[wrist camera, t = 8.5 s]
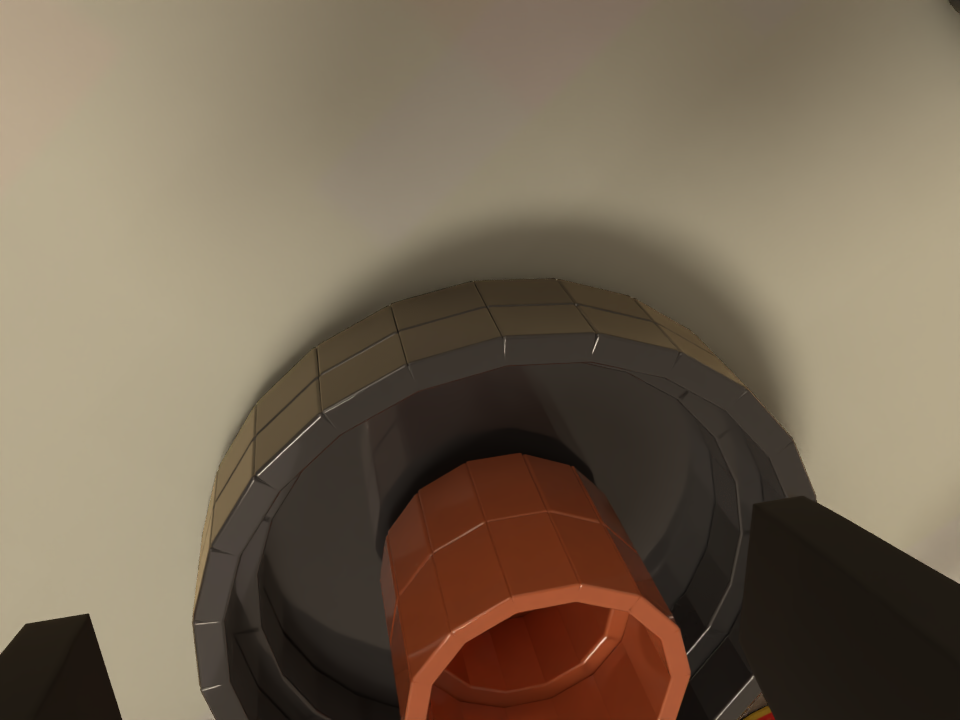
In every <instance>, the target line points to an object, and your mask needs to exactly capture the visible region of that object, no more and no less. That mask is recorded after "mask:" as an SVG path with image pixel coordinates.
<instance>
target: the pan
mask: <svg viewBox="0 0 960 720" xmlns="http://www.w3.org/2000/svg"><path fill="white" fill-rule="evenodd" d="M514 453H522V455H523V454H527V455H531V456H535V457H539V458H544V459H548V460H552V461H556V462H560V463H564V464H568V465H570V466H574V467H575V468H576V469H578V470H579V471H580V472H581V473H582V474H583V475H584V476H585V477H586V478H588V479H589V480H590V481H591V482H592V483H593V484H594V485H595V486H596V487H598V488H599V489H600V490H601V491H602V492H603V493H604V494H605V495H606V497H607V499H608V500H609V502H610V504H611V506H612V508H613V509H614V511H615V513H616V515H617V517H618V518H619V520H620V522H621V524H622V526H623V527H624V529H625V531H626V533H627V535H628V536H629V538H630V540H631V542H632V544H633V545H634V547H635V549H636V551H637V553H638V554H639V556H640V558H641V560H642V561H643V563H644V565H645V567H646V569H647V570H648V572H649V574H650V576H651V578H652V579H653V581H654V583H655V585H656V587H657V588H658V590H659V592H660V594H661V596H662V597H663V599H664V601H665V603H666V605H667V606H668V608H669V610H670V612H671V614H672V615H673V617H674V619H675V621H676V623H677V624H678V626H679V628H680V630H681V634H682V638H683V642H684V646H685V650H686V654H687V658H688V662H689V666H690V670H691V673H690V674H691V676H690V679H689V682H688V685H687V688H686V691H685V694H684V697H683V700H682V703H681V706H680V709H679V712H678V715H677V718H676V720H738V719H739V718H740V717H741V715H742V714H743V713H744V712H745V711H746V710H747V709H748V707H749V706H750V705H751V704H752V703H753V702H754V701H755V700H756V698H757V697H758V696H759V695H760V694H761V693H762V691H761V689H760V687H759V685H758V683H757V681H756V679H755V676H754V674H753V672H752V670H751V667H750V665H749V663H748V661H747V659H746V656H745V654H744V652H743V650H742V647H741V645H740V643H739V641H738V639H739V630H740V620H741V611H742V602H743V592H744V583H745V574H746V565H747V555H748V546H749V537H750V528H751V518H752V509H753V504H755V503H761V502H767V501H773V500H779V499H785V498H791V497H797V496H805V497H807V498H809V499H811V500H813V501H815V502H817V500H816V494H815V492H814V489H813V487H812V484H811V482H810V479H809V477H808V474H807V472H806V469H805V467H804V464H803V462H802V460H801V457H800V455H799V452H798V450H797V447H796V445H795V442H794V441H793V438H792V437H791V436H790V435H789V433H788V432H787V431H786V430H785V429H784V428H783V427H782V426H781V424H780V423H779V422H778V421H777V420H776V419H775V418H774V417H773V416H772V414H771V413H770V412H769V411H768V410H767V409H766V408H765V407H764V405H763V404H762V403H761V402H760V401H759V400H758V399H757V398H756V397H755V395H754V394H753V393H752V392H751V391H750V390H749V389H748V388H747V387H746V386H745V385H744V384H743V383H742V382H741V381H740V380H739V379H738V378H737V376H736V375H735V374H734V373H733V372H732V371H731V370H730V369H729V368H728V367H727V366H726V365H725V364H724V363H723V362H722V361H721V360H720V359H719V358H718V357H717V356H716V355H715V354H714V353H713V352H712V351H711V350H710V349H709V348H708V347H707V346H706V345H705V344H704V343H703V342H702V341H701V340H700V339H699V337H698V336H697V335H696V334H694V333H693V332H692V331H691V330H689V329H688V328H686V327H684V326H682V325H681V324H679V323H677V322H675V321H674V320H672V319H670V318H668V317H667V316H665V315H663V314H662V313H660V312H658V311H656V310H655V309H653V308H651V307H649V306H648V305H646V304H644V303H642V302H641V301H639V300H637V299H636V298H631V297H630V296H628V295H624V294H620V293H616V292H612V291H607V290H603V289H599V288H595V287H591V286H587V285H582V284H578V283H574V282H570V281H566V280H562V279H557V280H556V279H555V278H546V279H509V280H476V281H474V282H473V281H470V282H466V283H462V284H459V285H455V286H452V287H448V288H444V289H441V290H437V291H434V292H430V293H427V294H423V295H419V296H416V297H412V298H409V299H405V300H402V301H398V302H394V303H392V304H391V306H386V307H385V308H383V309H381V310H379V311H377V312H376V313H374V314H372V315H370V316H369V317H367V318H365V319H363V320H362V321H360V322H358V323H356V324H354V325H353V326H351V327H349V328H347V329H346V330H344V331H342V332H340V333H339V334H337V335H335V336H333V337H331V338H330V339H328V340H326V341H324V342H323V343H321V344H319V345H318V346H317V348H316V347H314V348H313V349H312V350H311V351H309V352H308V353H307V354H306V355H305V356H304V357H303V358H302V359H301V360H300V361H299V362H298V363H297V364H296V365H295V366H294V367H293V368H292V369H291V370H290V371H289V372H288V373H287V374H286V375H285V376H283V377H282V378H281V379H280V380H279V381H278V382H277V383H276V384H275V385H274V386H273V387H272V388H271V389H270V390H269V391H268V392H267V393H266V394H265V395H264V396H263V397H262V398H261V399H260V400H259V401H258V402H257V404H256V405H255V406H254V407H253V409H252V411H251V412H250V414H249V416H248V417H247V419H246V421H245V423H244V424H243V426H242V428H241V429H240V431H239V433H238V435H237V436H236V438H235V440H234V441H233V443H232V445H231V446H230V448H229V450H228V452H227V453H226V455H225V457H224V458H223V460H222V462H221V463H220V465H219V470H218V471H217V473H216V477H215V481H214V485H213V490H212V494H211V498H210V503H209V507H208V511H207V516H206V520H205V524H204V529H203V533H202V541H201V550H200V558H199V566H198V575H197V583H196V591H195V599H194V607H193V616H192V617H193V619H192V626H193V635H194V644H195V652H196V661H197V669H198V678H199V685H200V687H201V689H200V690H201V692H202V694H203V696H204V698H205V700H206V702H207V704H208V706H209V708H210V710H211V712H212V714H213V716H214V718H215V719H216V720H401V716H400V709H399V702H398V696H397V689H396V683H395V676H394V669H393V663H392V656H391V649H390V643H389V636H388V630H387V623H386V616H385V610H384V603H383V597H382V590H381V583H380V573H381V566H382V559H383V552H384V544H385V538H386V536H387V535H388V531H389V529H390V528H391V527H392V525H393V524H394V523H395V521H396V520H397V518H398V517H399V516H400V514H401V513H402V512H403V510H404V509H405V507H406V506H407V505H408V503H409V502H410V501H411V499H412V498H413V496H414V495H415V494H416V493H418V491H419V489H421V488H423V487H424V486H426V485H428V484H429V483H431V482H433V481H434V480H436V479H438V478H439V477H441V476H443V475H444V474H446V473H448V472H449V471H451V470H453V469H454V468H456V467H458V466H460V465H461V464H463V463H466V462H467V461H471V460H477V459H483V458H489V457H495V456H501V455H507V454H514Z"/></svg>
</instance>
